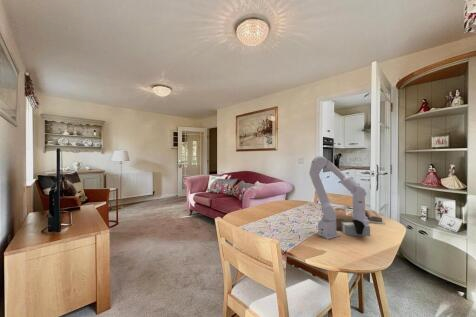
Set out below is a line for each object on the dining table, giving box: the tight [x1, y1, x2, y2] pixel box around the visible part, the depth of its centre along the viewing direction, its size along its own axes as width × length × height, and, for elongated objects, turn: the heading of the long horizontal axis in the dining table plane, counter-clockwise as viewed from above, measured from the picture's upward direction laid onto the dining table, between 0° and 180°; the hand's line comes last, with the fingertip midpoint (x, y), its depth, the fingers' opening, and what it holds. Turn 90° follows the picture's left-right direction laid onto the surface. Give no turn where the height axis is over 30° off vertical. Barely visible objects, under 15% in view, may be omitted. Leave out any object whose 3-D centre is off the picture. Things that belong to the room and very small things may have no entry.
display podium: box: [336, 215, 355, 231], centre depth 124 cm, size 5×18×7 cm, turn 86°
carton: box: [340, 222, 371, 237], centre depth 118 cm, size 8×12×5 cm, turn 86°
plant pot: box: [333, 207, 347, 216], centre depth 142 cm, size 7×7×7 cm
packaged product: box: [365, 209, 386, 225], centre depth 140 cm, size 18×5×10 cm
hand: (359, 234), depth 112 cm, fingers closed
